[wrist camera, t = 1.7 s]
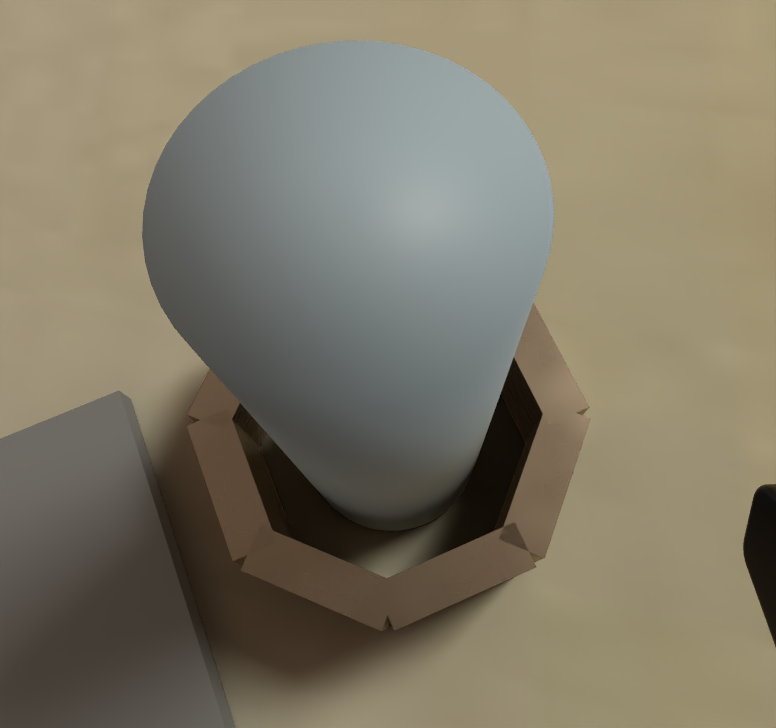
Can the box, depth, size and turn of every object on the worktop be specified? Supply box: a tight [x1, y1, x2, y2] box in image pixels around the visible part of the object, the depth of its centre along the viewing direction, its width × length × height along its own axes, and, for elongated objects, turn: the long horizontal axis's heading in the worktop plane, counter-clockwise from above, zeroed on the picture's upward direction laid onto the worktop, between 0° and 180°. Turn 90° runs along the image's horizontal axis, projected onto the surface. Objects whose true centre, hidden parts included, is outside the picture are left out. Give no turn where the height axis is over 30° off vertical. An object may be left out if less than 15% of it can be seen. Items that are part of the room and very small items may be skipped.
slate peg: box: [142, 41, 554, 531], centre depth 14 cm, size 4×4×12 cm
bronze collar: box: [187, 303, 591, 631], centre depth 18 cm, size 8×8×3 cm
